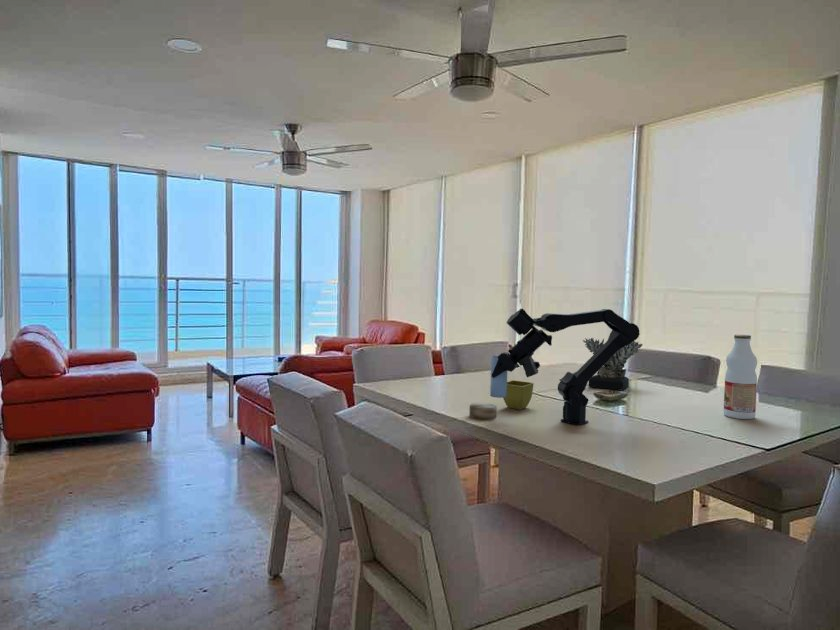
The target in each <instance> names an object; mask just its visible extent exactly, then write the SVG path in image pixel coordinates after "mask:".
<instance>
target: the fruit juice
mask: <svg viewBox="0 0 840 630" xmlns="http://www.w3.org/2000/svg"><path fill="white" fill-rule="evenodd" d="M733 339H734V344H733V347H732V350H731V351H730V353H728V354H727V356H726V359H725V362H726V367H727V370H725V371H726V372H725V376H724V391H723V393H724V394H723V395H724V396H723V415H724V416H726V417H728V418H733V419H739V420H753V419H755V418H756V413H757V412H756V410H757V390H758V389H757V387H758V376H757V373H756V369H757V365H758V359H757V356H756V355H755V353H754V352H753V350H752V347H751V341H752V340H751V339H752V336H751V335H750V334H734V336H733Z"/></svg>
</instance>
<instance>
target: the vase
mask: <svg viewBox="0 0 840 630" xmlns="http://www.w3.org/2000/svg"><path fill="white" fill-rule="evenodd" d="M499 355H500V354H495V355H491V357H490V390H489V391H490V392H489V393H490V394H489V395H490V397H491V398H496V399H497V398H500V399H501V398H502V399H503V398H504V397H507V382H508V371H505V372H503V373H501V374H500V375H498V376H496V377H495V378H493V377H492V376H491V375H492V373H493V371H494V368H495V366H496V364H497V361H498V356H499Z"/></svg>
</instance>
